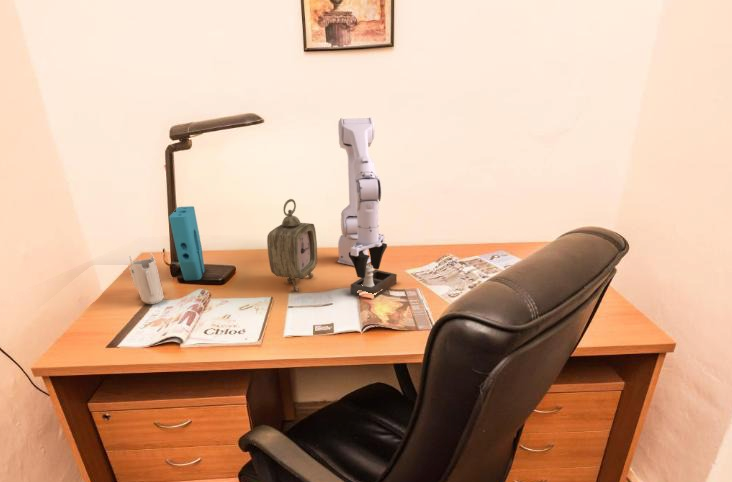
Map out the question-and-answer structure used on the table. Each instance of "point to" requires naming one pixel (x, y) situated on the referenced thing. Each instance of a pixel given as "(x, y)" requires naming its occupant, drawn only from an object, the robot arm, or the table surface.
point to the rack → (375, 283)
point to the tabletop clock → (292, 248)
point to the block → (187, 242)
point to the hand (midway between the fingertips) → (368, 272)
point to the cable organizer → (147, 280)
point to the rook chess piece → (369, 277)
